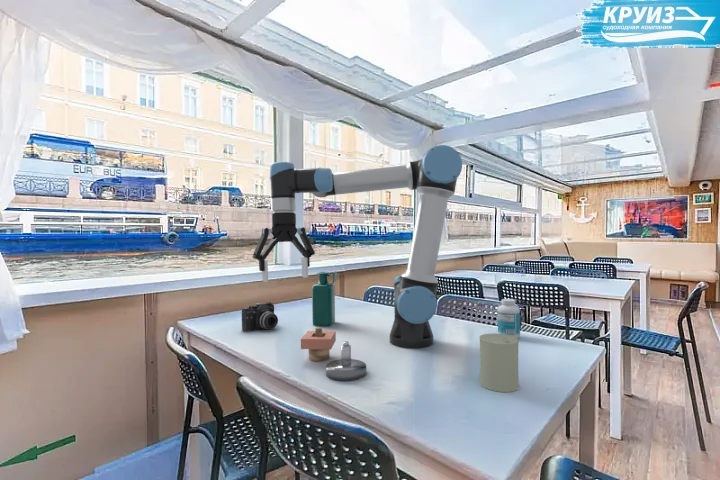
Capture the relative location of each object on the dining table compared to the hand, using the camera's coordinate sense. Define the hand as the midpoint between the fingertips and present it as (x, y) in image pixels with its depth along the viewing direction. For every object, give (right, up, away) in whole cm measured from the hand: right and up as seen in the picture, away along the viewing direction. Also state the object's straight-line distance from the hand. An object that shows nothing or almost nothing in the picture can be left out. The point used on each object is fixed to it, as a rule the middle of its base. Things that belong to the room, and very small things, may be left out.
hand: (285, 279), depth 116 cm
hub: (+20, -24, -16) cm, 35 cm away
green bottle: (+9, -23, +39) cm, 46 cm away
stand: (+11, -24, -3) cm, 26 cm away
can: (+58, -24, -25) cm, 67 cm away
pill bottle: (+77, -23, +16) cm, 82 cm away
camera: (-16, -24, +33) cm, 43 cm away
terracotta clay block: (+11, -20, -3) cm, 23 cm away
